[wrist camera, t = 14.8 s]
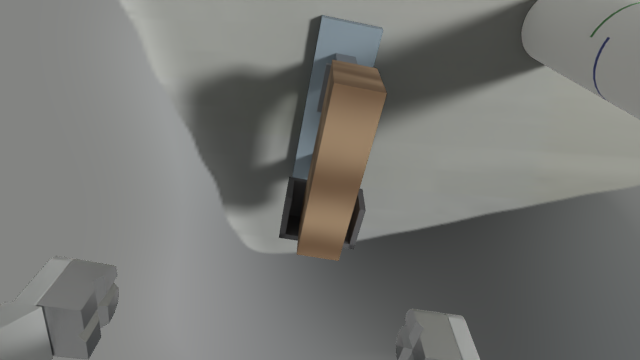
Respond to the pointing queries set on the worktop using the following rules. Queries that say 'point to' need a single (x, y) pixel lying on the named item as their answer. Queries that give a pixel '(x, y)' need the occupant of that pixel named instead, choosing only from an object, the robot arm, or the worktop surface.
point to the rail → (339, 157)
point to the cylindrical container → (590, 45)
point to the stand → (336, 44)
